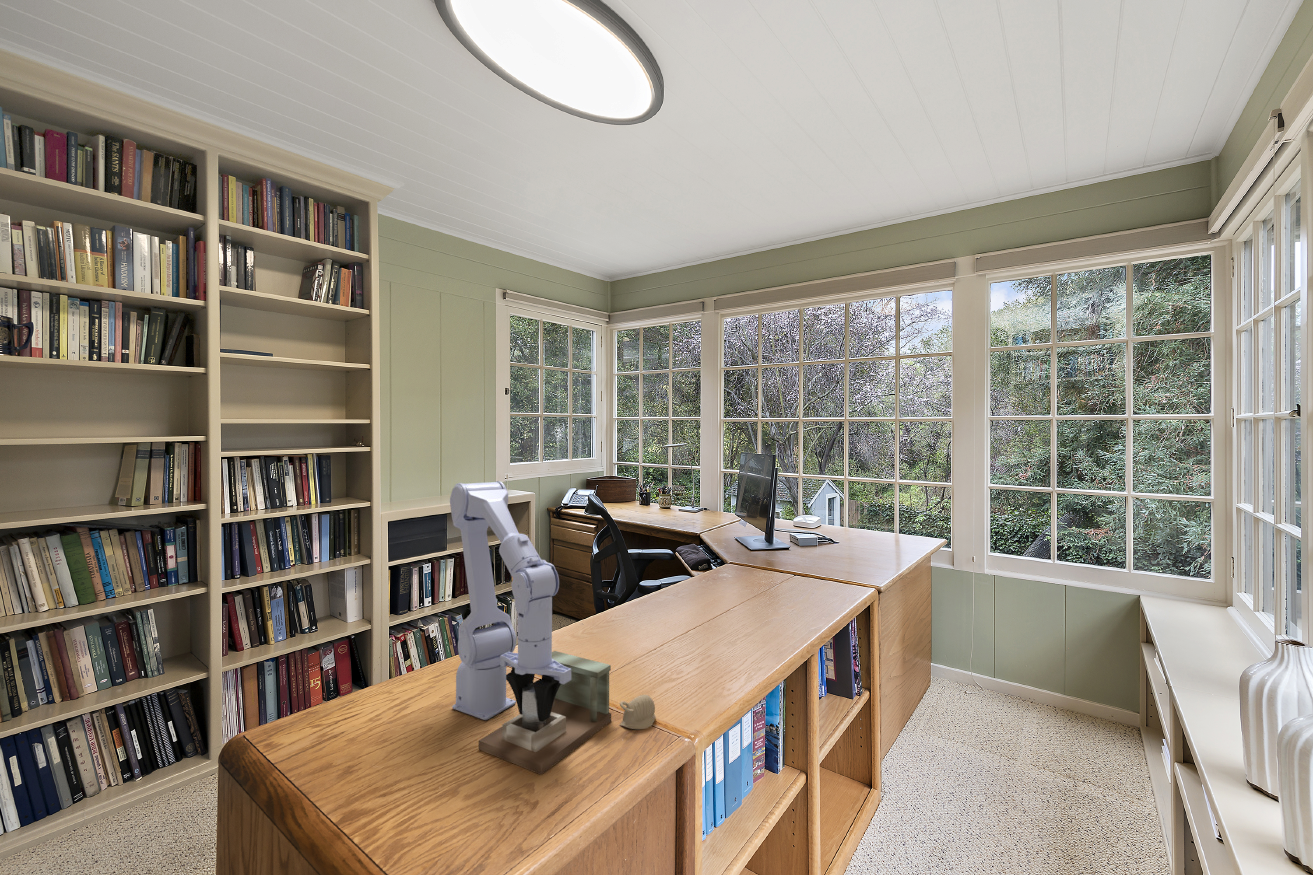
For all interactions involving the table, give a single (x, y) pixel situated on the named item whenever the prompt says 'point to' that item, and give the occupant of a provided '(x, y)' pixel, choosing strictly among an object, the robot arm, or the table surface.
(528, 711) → the steel peg
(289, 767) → the table surface
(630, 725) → the decorative ornament
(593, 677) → the socket stand
